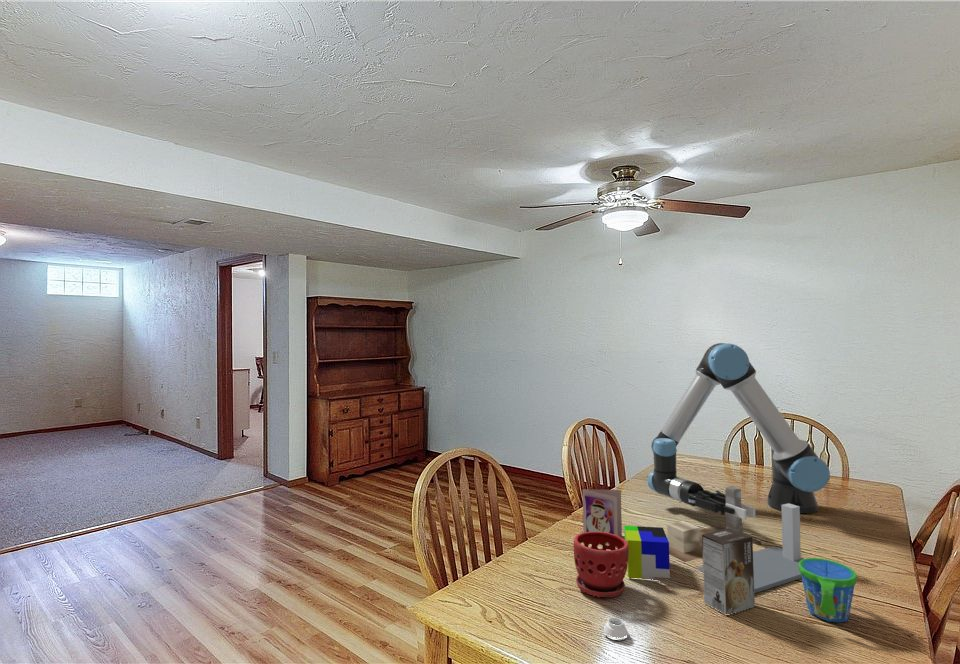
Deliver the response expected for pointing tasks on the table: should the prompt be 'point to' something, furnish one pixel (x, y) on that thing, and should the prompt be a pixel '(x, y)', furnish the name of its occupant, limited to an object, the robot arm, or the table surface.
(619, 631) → the grey tapered hollow piece
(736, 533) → the coffee box
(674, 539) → the beech block
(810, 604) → the snack cup
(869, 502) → the table surface
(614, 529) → the greeting card
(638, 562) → the puzzle toy
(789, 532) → the base plate with post
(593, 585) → the plant pot
